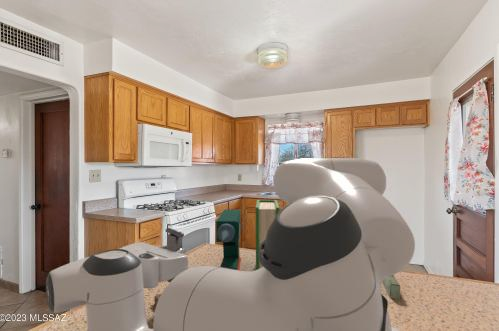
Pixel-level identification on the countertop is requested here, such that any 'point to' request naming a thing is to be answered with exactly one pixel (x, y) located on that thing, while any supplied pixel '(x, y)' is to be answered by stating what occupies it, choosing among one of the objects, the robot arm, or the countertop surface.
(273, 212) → the hardback book
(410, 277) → the countertop surface
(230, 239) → the power tool
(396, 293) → the medication box
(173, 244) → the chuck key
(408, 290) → the countertop surface
